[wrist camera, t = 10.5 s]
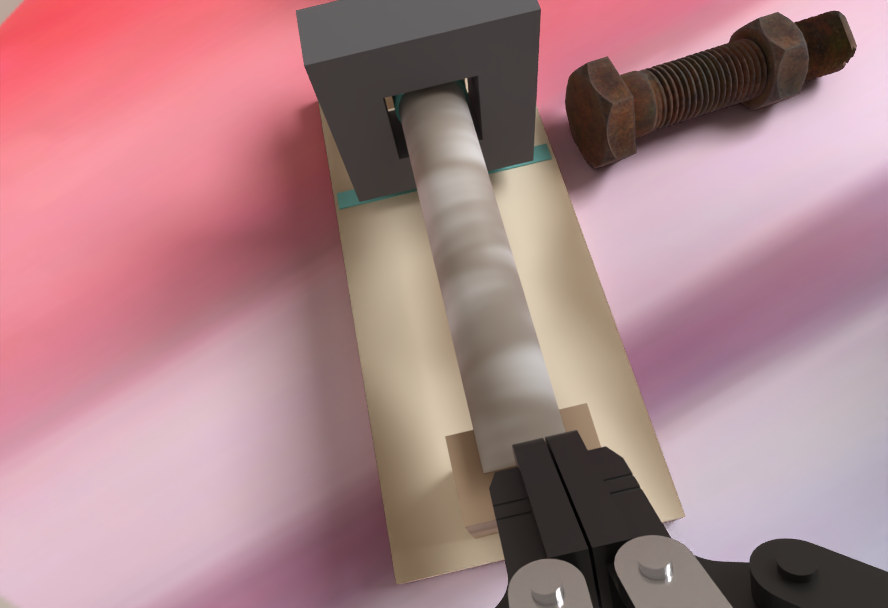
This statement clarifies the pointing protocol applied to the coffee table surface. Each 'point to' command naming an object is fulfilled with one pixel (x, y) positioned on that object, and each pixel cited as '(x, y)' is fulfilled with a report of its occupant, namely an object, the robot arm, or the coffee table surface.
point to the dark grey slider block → (421, 77)
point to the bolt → (702, 82)
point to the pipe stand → (478, 334)
